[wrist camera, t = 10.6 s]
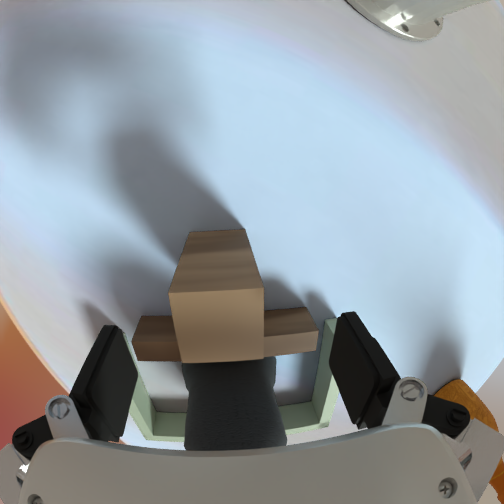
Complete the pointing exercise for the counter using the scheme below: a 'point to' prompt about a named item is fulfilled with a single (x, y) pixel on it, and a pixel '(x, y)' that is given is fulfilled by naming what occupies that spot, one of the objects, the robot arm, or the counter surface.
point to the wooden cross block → (221, 309)
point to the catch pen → (293, 416)
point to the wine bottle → (465, 396)
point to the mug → (232, 406)
